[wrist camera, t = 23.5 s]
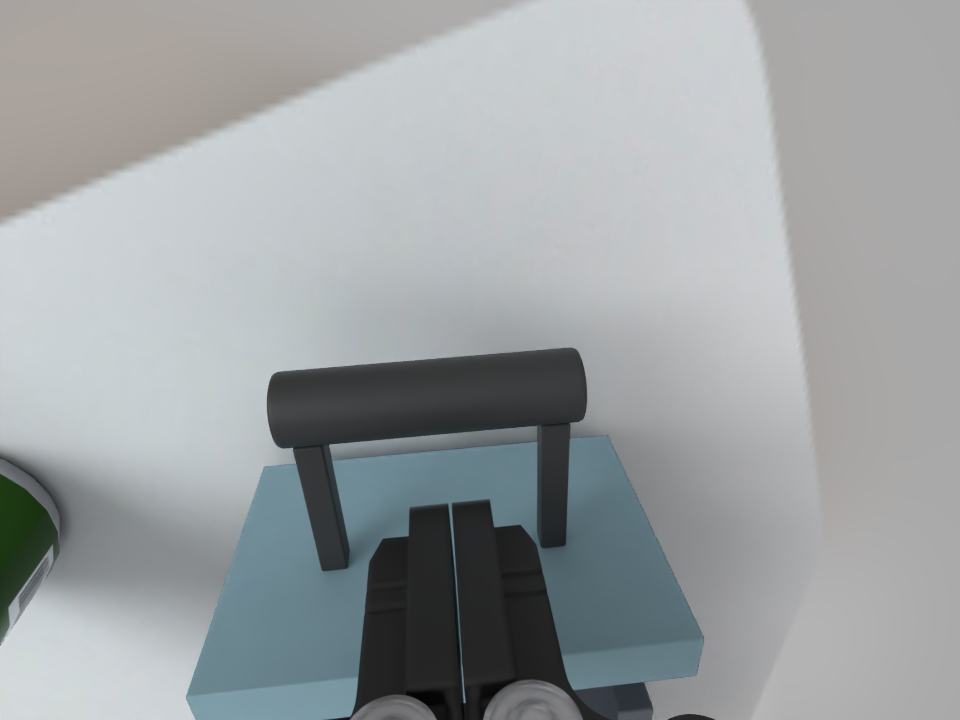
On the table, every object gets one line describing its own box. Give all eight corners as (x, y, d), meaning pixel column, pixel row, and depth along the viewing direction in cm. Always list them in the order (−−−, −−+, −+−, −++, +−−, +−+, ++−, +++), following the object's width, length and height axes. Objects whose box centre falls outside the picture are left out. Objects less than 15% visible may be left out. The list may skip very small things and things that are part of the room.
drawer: (219, 304, 15) (89, 491, 9) (619, 274, 15) (749, 430, 9) (325, 692, 22) (292, 935, 16) (591, 662, 23) (653, 884, 17)
